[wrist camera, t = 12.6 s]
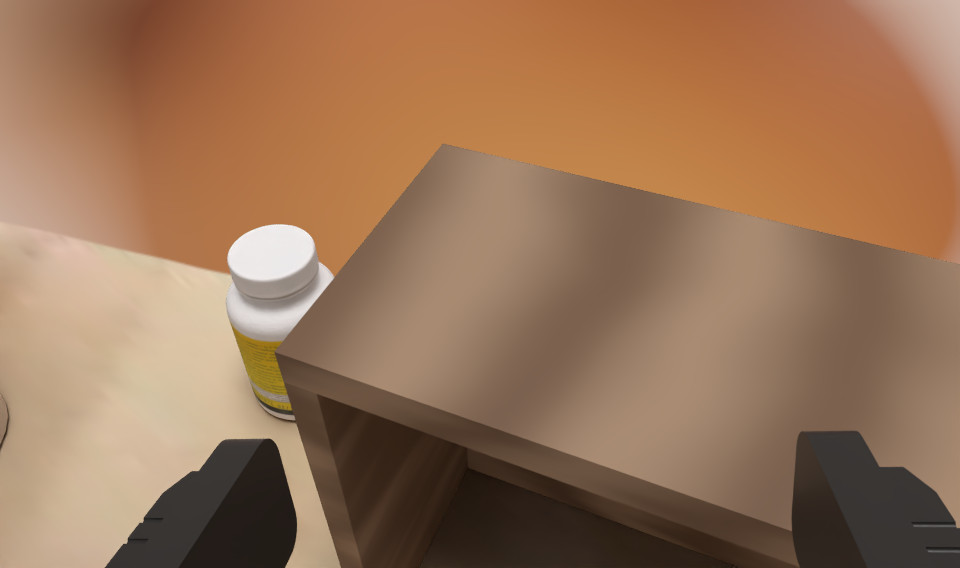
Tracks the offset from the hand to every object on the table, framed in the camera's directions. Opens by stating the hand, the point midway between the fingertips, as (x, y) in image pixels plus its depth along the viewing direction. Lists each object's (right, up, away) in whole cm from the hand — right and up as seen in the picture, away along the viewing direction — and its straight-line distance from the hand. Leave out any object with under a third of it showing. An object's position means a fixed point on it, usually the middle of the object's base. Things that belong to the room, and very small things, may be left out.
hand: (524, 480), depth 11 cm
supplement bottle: (-10, -3, +29) cm, 31 cm away
